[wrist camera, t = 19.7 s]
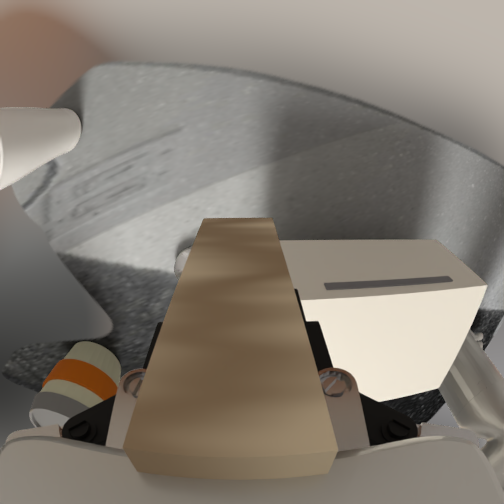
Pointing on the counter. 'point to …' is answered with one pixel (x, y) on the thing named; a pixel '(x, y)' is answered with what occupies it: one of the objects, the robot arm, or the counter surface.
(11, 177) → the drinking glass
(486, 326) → the counter surface
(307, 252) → the cabinet
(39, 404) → the reusable coffee cup
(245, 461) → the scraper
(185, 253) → the ball
